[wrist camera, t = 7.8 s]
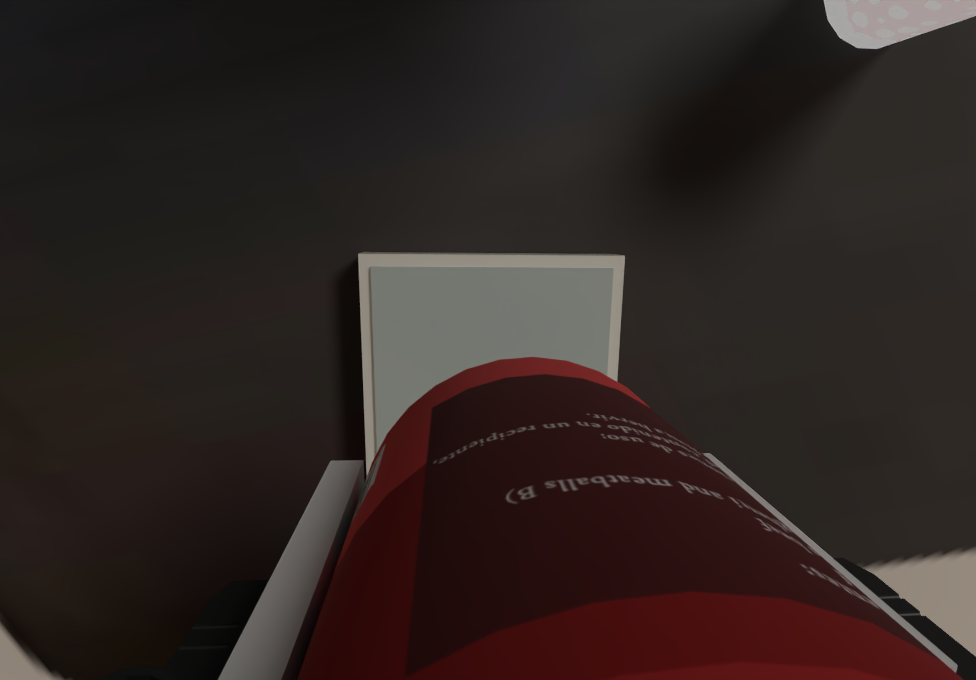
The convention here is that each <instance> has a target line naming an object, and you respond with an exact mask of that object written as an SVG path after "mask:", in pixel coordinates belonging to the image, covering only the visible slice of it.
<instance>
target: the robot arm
mask: <svg viewBox="0 0 976 680" xmlns="http://www.w3.org/2000/svg"><path fill="white" fill-rule="evenodd" d="M703 454H704V455H705V456H706V457H708V458H709V459H710V460H711V461H712V462H713V463H714V464H716V465H717V466H718V467H719V468H720V469H721V470H722V471H724V472H725V473H726V474H727V475H728V476H729V477H731V478H732V479H733V480H734V481H735V482H736V483H737V484H739V485H740V486H741V487H742V488H743V489H744V490H746V491H747V492H748V493H749V494H750V495H751V496H752V497H754V498H755V499H756V500H757V501H758V502H759V503H761V504H762V505H763V506H764V507H765V508H766V509H767V510H769V511H770V512H771V513H772V514H773V515H774V516H775V517H777V518H778V519H779V520H780V521H781V522H782V523H784V524H785V525H786V526H787V527H788V528H789V529H790V530H792V531H793V532H794V533H795V534H796V535H797V536H799V537H800V538H801V539H802V540H803V541H804V542H805V543H807V544H808V545H809V546H810V547H811V548H812V549H814V550H815V551H816V552H817V553H818V554H819V555H820V556H822V557H823V558H824V559H825V560H826V561H827V562H828V563H830V564H831V565H832V566H833V567H834V568H835V569H837V570H838V571H839V572H840V573H841V574H842V575H843V576H845V577H846V578H847V579H848V580H849V581H850V582H852V583H853V584H854V585H855V586H856V587H857V588H858V589H860V590H861V591H862V592H863V593H864V594H865V595H867V596H868V597H869V598H870V599H871V600H872V601H873V602H875V603H876V604H877V605H878V606H879V607H880V608H881V609H883V610H884V611H885V612H886V613H887V614H888V615H890V616H891V617H892V618H893V619H894V620H895V621H896V622H898V623H899V624H900V625H901V626H902V627H903V628H905V629H906V630H907V631H908V632H909V633H910V634H911V635H913V636H914V637H915V638H916V639H917V640H918V641H920V642H921V643H922V644H923V645H924V646H925V647H926V648H928V649H929V650H930V651H931V652H932V653H933V654H934V655H936V656H937V657H938V658H939V659H940V660H941V661H943V662H944V663H945V664H946V665H947V666H948V667H949V668H951V669H952V670H953V671H954V672H955V673H956V674H958V675H959V676H960V677H961V678H962V679H963V680H976V657H975V656H974V655H973V654H971V653H970V652H969V651H968V650H966V649H965V648H964V647H963V646H962V645H960V644H959V643H958V642H957V641H955V640H954V639H953V638H952V637H951V636H949V635H948V634H947V633H946V632H944V631H943V630H942V629H941V628H939V627H938V626H937V625H936V624H934V623H933V622H932V621H931V620H930V619H928V618H927V617H926V616H921V615H920V611H918V610H917V609H916V608H915V607H914V606H912V605H911V604H910V603H908V602H907V601H906V600H905V599H900V598H899V595H898V594H897V593H896V592H895V591H894V590H892V589H891V588H890V587H889V586H888V585H886V584H885V583H884V582H883V581H881V580H880V579H879V578H878V577H876V576H875V575H874V574H872V573H870V572H868V571H867V570H865V569H863V568H861V567H859V566H857V565H855V564H853V563H852V562H850V561H848V560H846V559H844V558H832V557H831V556H830V555H828V554H827V553H826V552H825V551H824V550H823V549H821V548H820V547H819V546H818V545H817V544H816V543H814V542H813V541H812V540H811V539H810V538H808V537H807V536H806V535H805V534H804V533H803V532H801V531H800V530H799V529H798V528H797V527H796V526H794V525H793V524H792V523H791V522H790V521H789V520H787V519H786V518H785V517H784V516H783V515H782V514H780V513H779V512H778V511H777V510H776V509H775V508H773V507H772V506H771V505H770V504H769V503H768V502H766V501H765V500H764V499H763V498H762V497H761V496H759V495H758V494H757V493H756V492H755V491H754V490H752V489H751V488H750V487H749V486H748V485H747V484H745V483H744V482H743V481H742V480H741V479H740V478H738V477H737V476H736V475H735V474H734V473H733V472H731V471H730V470H729V469H728V468H727V467H725V466H724V465H723V464H722V463H721V462H720V461H718V460H717V459H716V458H715V457H714V456H713V455H711V454H710V453H703ZM363 487H364V461H363V460H345V461H330V463H329V465H328V467H327V469H326V471H325V473H324V475H323V477H322V479H321V481H320V483H319V485H318V486H317V488H316V490H315V492H314V494H313V496H312V498H311V500H310V502H309V504H308V506H307V508H306V510H305V512H304V514H303V516H302V518H301V519H300V521H299V523H298V525H297V527H296V529H295V531H294V533H293V535H292V537H291V539H290V541H289V543H288V545H287V547H286V549H285V550H284V552H283V554H282V556H281V558H280V560H279V562H278V564H277V566H276V568H275V570H274V572H273V574H272V576H271V578H270V580H255V581H233V582H232V583H230V584H229V585H228V586H227V587H225V588H224V589H223V590H222V591H221V592H219V593H218V594H217V595H216V596H214V597H213V598H212V599H211V600H209V601H208V603H207V604H206V606H205V607H204V609H203V610H202V612H201V613H200V615H199V616H198V618H197V620H196V621H195V623H194V624H193V628H192V630H189V632H188V633H187V635H186V636H185V638H184V640H183V641H182V643H181V644H180V648H179V651H176V652H175V653H174V655H173V656H172V658H171V660H170V661H169V663H168V664H167V666H166V667H165V668H159V667H150V666H141V667H135V668H129V669H124V670H119V671H117V672H114V673H112V674H109V675H107V676H104V677H102V678H99V679H97V680H297V678H298V675H299V672H300V670H301V667H302V664H303V661H304V658H305V655H306V652H307V649H308V646H309V643H310V641H311V638H312V635H313V632H314V629H315V626H316V623H317V620H318V617H319V614H320V612H321V609H322V606H323V603H324V600H325V597H326V594H327V591H328V588H329V586H330V583H331V580H332V577H333V574H334V571H335V568H336V565H337V562H338V559H339V557H340V554H341V551H342V548H343V545H344V542H345V539H346V536H347V533H348V530H349V528H350V525H351V522H352V519H353V516H354V513H355V510H356V507H357V504H358V501H359V499H360V496H361V493H362V490H363Z"/></svg>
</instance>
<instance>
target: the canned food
mask: <svg viewBox="0 0 976 680" xmlns="http://www.w3.org/2000/svg"><path fill="white" fill-rule="evenodd" d="M297 680H963V679H962V678H961V677H960V676H959V675H958V674H956V673H955V672H954V671H953V670H952V669H951V668H949V667H948V666H947V665H946V664H945V663H944V662H943V661H941V660H940V659H939V658H938V657H937V656H936V655H934V654H933V653H932V652H931V651H930V650H929V649H928V648H926V647H925V646H924V645H923V644H922V643H921V642H920V641H918V640H917V639H916V638H915V637H914V636H913V635H911V634H910V633H909V632H908V631H907V630H906V629H905V628H903V627H902V626H901V625H900V624H899V623H898V622H896V621H895V620H894V619H893V618H892V617H891V616H890V615H888V614H887V613H886V612H885V611H884V610H883V609H881V608H880V607H879V606H878V605H877V604H876V603H875V602H873V601H872V600H871V599H870V598H869V597H868V596H867V595H865V594H864V593H863V592H862V591H861V590H860V589H858V588H857V587H856V586H855V585H854V584H853V583H852V582H850V581H849V580H848V579H847V578H846V577H845V576H843V575H842V574H841V573H840V572H839V571H838V570H837V569H835V568H834V567H833V566H832V565H831V564H830V563H828V562H827V561H826V560H825V559H824V558H823V557H822V556H820V555H819V554H818V553H817V552H816V551H815V550H814V549H812V548H811V547H810V546H809V545H808V544H807V543H805V542H804V541H803V540H802V539H801V538H800V537H799V536H797V535H796V534H795V533H794V532H793V531H792V530H790V529H789V528H788V527H787V526H786V525H785V524H784V523H782V522H781V521H780V520H779V519H778V518H777V517H775V516H774V515H773V514H772V513H771V512H770V511H769V510H767V509H766V508H765V507H764V506H763V505H762V504H761V503H759V502H758V501H757V500H756V499H755V498H754V497H752V496H751V495H750V494H749V493H748V492H747V491H746V490H744V489H743V488H742V487H741V486H740V485H739V484H737V483H736V482H735V481H734V480H733V479H732V478H731V477H729V476H728V475H727V474H726V473H725V472H724V471H722V470H721V469H720V468H719V467H718V466H717V465H716V464H714V463H713V462H712V461H711V460H710V459H709V458H708V457H706V456H705V455H704V454H703V453H702V452H701V451H699V450H698V449H697V448H696V447H695V446H694V445H693V444H691V443H690V442H689V441H688V440H687V439H686V438H684V437H683V436H682V435H681V434H680V433H679V432H678V431H676V430H675V429H674V428H673V427H672V426H671V425H669V424H668V423H667V422H666V421H665V420H664V419H663V418H661V417H660V416H659V415H658V414H657V413H656V412H655V411H653V410H652V409H651V408H650V407H649V406H648V405H646V404H645V403H644V402H643V401H642V400H641V399H640V398H638V397H637V396H636V395H635V394H634V393H633V392H631V391H630V390H629V389H628V388H627V387H625V386H623V385H622V384H620V383H618V382H617V381H615V380H613V379H611V378H610V377H608V376H606V375H605V374H603V373H601V372H599V371H597V370H594V369H591V368H588V367H585V366H582V365H579V364H576V363H573V362H570V361H566V360H557V359H549V358H540V357H524V358H513V359H501V360H496V361H493V362H489V363H486V364H483V365H479V366H476V367H472V368H469V369H466V370H464V371H462V372H460V373H458V374H456V375H454V376H452V377H451V378H449V379H447V380H445V381H443V382H441V383H439V384H437V385H435V386H434V387H433V388H432V389H430V390H429V391H428V392H427V393H425V394H424V395H423V396H422V397H421V398H419V399H418V400H417V401H416V402H414V403H413V404H412V405H411V406H410V407H408V409H407V410H406V411H405V412H404V413H403V415H402V416H401V417H400V418H399V420H398V421H397V422H396V423H395V425H394V426H393V427H392V428H391V429H390V431H389V432H388V433H387V435H386V437H385V439H384V441H383V442H382V444H381V446H380V448H379V450H378V452H377V454H376V456H375V458H374V460H373V462H372V464H371V467H370V470H369V472H368V475H367V478H366V481H365V484H364V487H363V490H362V493H361V496H360V499H359V501H358V504H357V507H356V510H355V513H354V516H353V519H352V522H351V525H350V528H349V530H348V533H347V536H346V539H345V542H344V545H343V548H342V551H341V554H340V557H339V559H338V562H337V565H336V568H335V571H334V574H333V577H332V580H331V583H330V586H329V588H328V591H327V594H326V597H325V600H324V603H323V606H322V609H321V612H320V614H319V617H318V620H317V623H316V626H315V629H314V632H313V635H312V638H311V641H310V643H309V646H308V649H307V652H306V655H305V658H304V661H303V664H302V667H301V670H300V672H299V675H298V678H297Z"/></svg>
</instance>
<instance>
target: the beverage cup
mask: <svg viewBox="0 0 976 680" xmlns="http://www.w3.org/2000/svg"><path fill="white" fill-rule="evenodd" d="M824 4H825V9H826V14H827V18H828V21H829V23H830V24H831V26H832V27H833V29H834V30H835V32H836V33H837V35H838V36H839V38H841V39H843V40H844V41H846V42H848V43H849V44H851V45H853V46H855V47H856V48H868V49H878V48H881V47H884V46H887V45H890V44H893V43H896V42H899V41H902V40H905V39H908V38H911V37H914V36H917V35H920V34H923V33H926V32H929V31H932V30H935V29H938V28H941V27H944V26H947V25H950V24H953V23H956V22H959V21H962V20H965V19H968V18H971V17H974V16H976V0H824Z"/></svg>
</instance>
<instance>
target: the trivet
mask: <svg viewBox="0 0 976 680" xmlns="http://www.w3.org/2000/svg"><path fill="white" fill-rule="evenodd" d="M358 263H359V289H360V315H361V341H362V367H363V393H364V418H365V444H366V470H367V475H368V472H369V470H370V467H371V464H372V462H373V460H374V458H375V456H376V454H377V452H378V450H379V448H380V446H381V444H382V442H383V441H384V439H385V437H386V435H387V433H388V432H389V431H390V429H391V428H392V427H393V426H394V425H395V423H396V422H397V421H398V420H399V418H400V417H401V416H402V415H403V413H404V412H405V411H406V410H407V409H408V407H410V406H411V405H412V404H413V403H414V402H416V401H417V400H418V399H419V398H421V397H422V396H423V395H424V394H425V393H427V392H428V391H429V390H430V389H432V388H433V387H434V386H435V385H437V384H439V383H441V382H443V381H445V380H447V379H449V378H451V377H452V376H454V375H456V374H458V373H460V372H462V371H464V370H466V369H469V368H472V367H476V366H479V365H483V364H486V363H489V362H493V361H496V360H501V359H513V358H524V357H540V358H549V359H557V360H566V361H570V362H573V363H576V364H579V365H582V366H585V367H588V368H591V369H594V370H597V371H599V372H601V373H603V374H605V375H606V376H608V377H610V378H611V379H613V380H615V381H617V374H618V358H619V342H620V326H621V310H622V294H623V278H624V263H625V256H623V255H617V254H541V253H414V252H363V253H359V254H358Z"/></svg>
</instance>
